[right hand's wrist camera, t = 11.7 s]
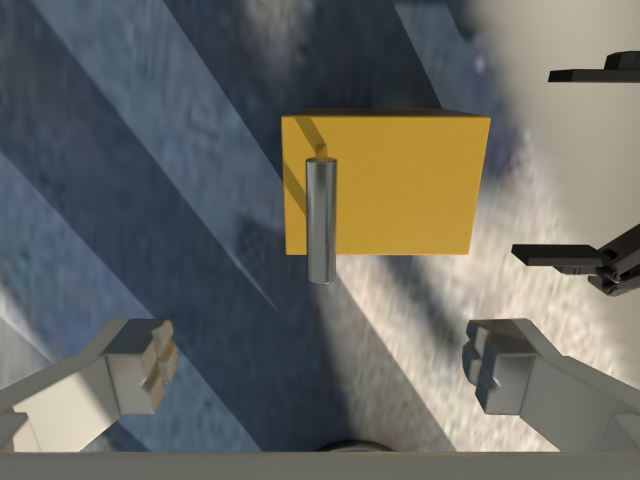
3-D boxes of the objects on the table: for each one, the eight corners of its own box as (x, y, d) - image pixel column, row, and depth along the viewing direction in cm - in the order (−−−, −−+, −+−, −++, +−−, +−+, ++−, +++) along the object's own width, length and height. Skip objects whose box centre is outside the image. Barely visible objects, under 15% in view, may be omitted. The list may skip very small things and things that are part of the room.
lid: (287, 248, 28) (274, 309, 21) (282, 115, 25) (265, 127, 17) (463, 249, 28) (517, 310, 21) (484, 115, 25) (559, 128, 17)
